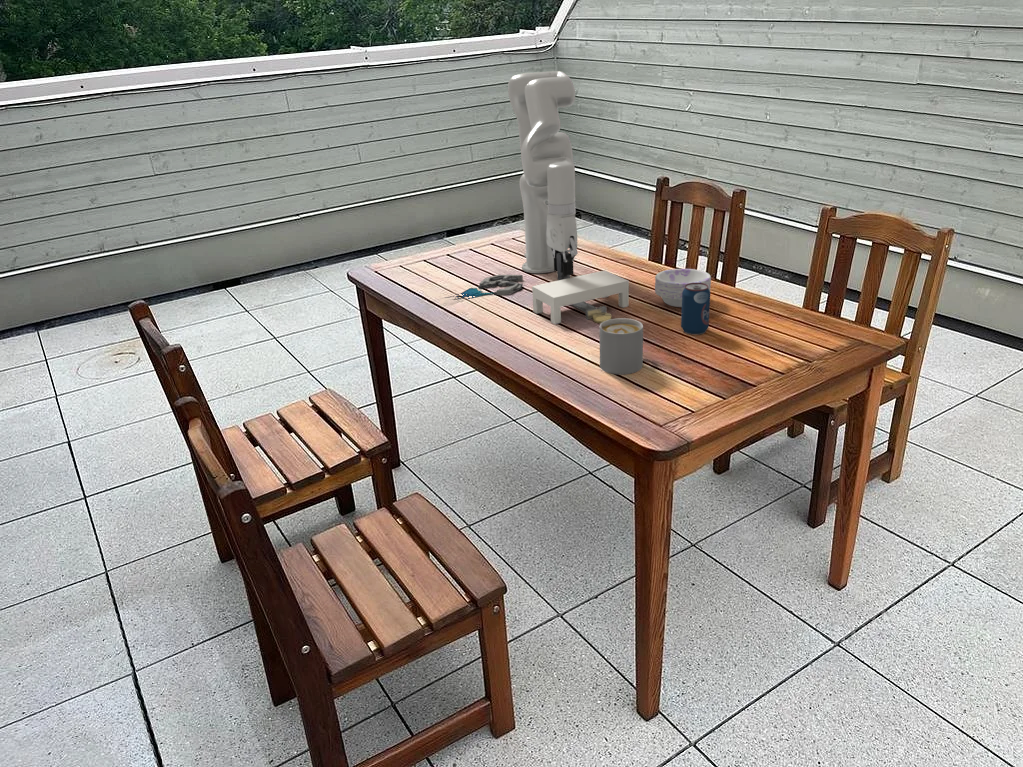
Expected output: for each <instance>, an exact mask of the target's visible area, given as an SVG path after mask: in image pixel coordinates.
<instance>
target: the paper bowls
mask: <svg viewBox="0 0 1023 767" xmlns="http://www.w3.org/2000/svg"><path fill="white" fill-rule="evenodd" d="M654 280H655V282H654V293H655V294H656V295H657V296H659V297H661V299H662V301H663V302H664V303H665V304H667V305H668V306H671V307H674V308H675V307H676V308H682V292H683V290H684V288H685V285H686V284H689V283H704V284H707V285H708V289H709V291H710V292H711V287H712V286H711V283H712V276H711V275H710V273H708V272H706V271H704V270H701V269H694V268H672V269H666V270H662V271H660V272H658V273H657V274H656V275H655V278H654Z"/></svg>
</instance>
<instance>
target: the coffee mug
mask: <svg viewBox="0 0 1023 767" xmlns="http://www.w3.org/2000/svg"><path fill="white" fill-rule="evenodd" d="M598 330H599V368H600V370H602V371H604V372H605V373H608V374H612V375H630V374H633V373H637V372H639V371H640V370H642V368H643V359H644V356H643V355H644V354H643V352H644V325H643V323H642V322H641V321H639V320H636V319H633V318H625V317H621V318H620V317H619V318H612V319H610V320H607V321H604V322H602V323H601V324H599V329H598Z"/></svg>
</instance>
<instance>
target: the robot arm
mask: <svg viewBox="0 0 1023 767" xmlns="http://www.w3.org/2000/svg"><path fill="white" fill-rule="evenodd" d="M507 89H508V90H507V93H508V98H509V102H510V105H511V108H512V110H513V112H514V115H515V116H516V117H515V118H516V119H517V127H518V135H519V136H518V137H519V138H518V139H519V146H520V157H521V158H520V159H521V165H522V166H521V167H522V171H523V173H522V175H521V176H520V178H519V190H520V196H521V200H522V201H521V202H522V206H523V221H524V223H523V224H524V239H525V240H524V242H525V253H524V254H523V256H524V257H525V259H526V260H525V262H524V263H522V265H521V269H522V271H524V272H526V273H530V274H531V273H532V274H546V273H547V274H548V273H552V272H557V255H556V253H561V252H563V258H564V262H562V263H563V275H564V276H566V275H570V276H571V275H573V274H574V261H575V258H576V256H577V255H578V254H579V252H578V229H577V226H578V225H577V218H576V213H577V212H576V178H575V177H576V176H575V173H576V169H575V163H574V156H573V154H574V153H573V147H572V146H573V145H572V142H571V138H570V136H569V135H568V134H567V133H565V132H561V131H560V130H561V120H560V114H559V110H558V109H559V108H569V107H572V106H573V105H574V103H575V100H576V89H575V85H574V82H573V81H572V79H571V78H570V76H569V75H567V74H566V73H565V72H564V71H562V70H561V71H560V70H553V71H552V70H549V71H548V70H547V71H536V72H535V71H534V72H524V73H518V74H515V75H513V76H512V77H510V78H509V80H508V84H507ZM546 202H547V204H546ZM567 253H570V254H568V255H567Z"/></svg>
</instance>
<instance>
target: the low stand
mask: <svg viewBox="0 0 1023 767" xmlns="http://www.w3.org/2000/svg"><path fill="white" fill-rule="evenodd" d="M629 284H630V281H629V280H628V279H627V278H623V277H622V276H620V275H616V274H614V273H612V272H609V271H607V270H600V271H596V272H592V273H587V274H583V275H577V276H573V277H570V278H568V279H563V280H558V281H557V280H554V281H550V282H546V283H541V284H537V285H532V286H531V288H532V289H531V290H532V291H531V292H532V312H533V313H535V314H541V313H544V304H545V305H547V306H549V307H550V322H551V324H553V325H558V324H562V314H561V313H562V310H561V308H562V307H567V306H572V305H571V304H575V303H579V302H584V301H585V302H588V301H592V300H595V299H600V298H603V299H605V298H609V296H614V295H617V294H618V306H619V307H620V308H627V307H629V305H630V304H629V296H630V295H629V290H630V289H629V288H630V285H629ZM543 303H544V304H543Z"/></svg>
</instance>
